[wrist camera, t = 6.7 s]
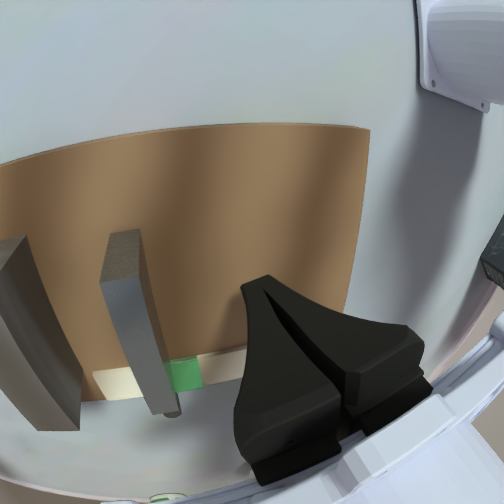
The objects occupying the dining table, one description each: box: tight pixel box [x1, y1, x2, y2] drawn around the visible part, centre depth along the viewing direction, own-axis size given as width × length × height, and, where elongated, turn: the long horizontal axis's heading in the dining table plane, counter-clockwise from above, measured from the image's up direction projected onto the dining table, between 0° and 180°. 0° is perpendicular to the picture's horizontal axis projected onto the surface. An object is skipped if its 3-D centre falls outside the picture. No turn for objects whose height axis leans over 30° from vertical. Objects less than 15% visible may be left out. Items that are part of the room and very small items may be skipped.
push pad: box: [99, 228, 182, 418], centre depth 12 cm, size 1×10×4 cm, turn 1°
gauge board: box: [0, 123, 370, 431], centre depth 12 cm, size 18×14×6 cm
